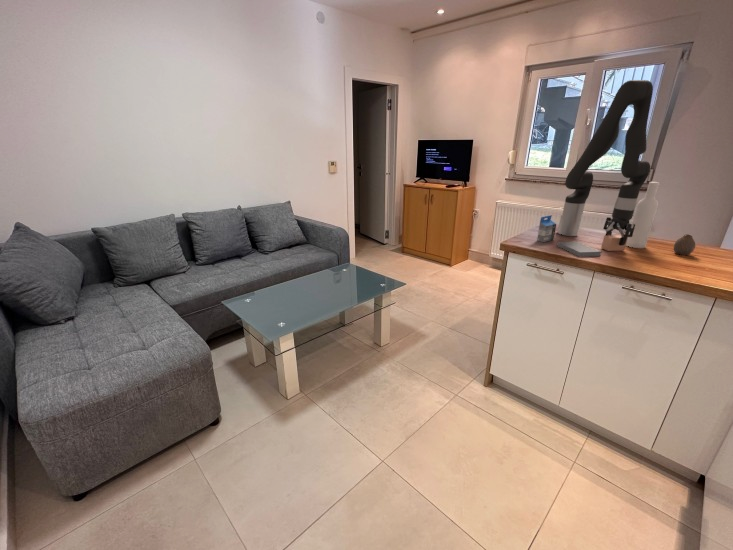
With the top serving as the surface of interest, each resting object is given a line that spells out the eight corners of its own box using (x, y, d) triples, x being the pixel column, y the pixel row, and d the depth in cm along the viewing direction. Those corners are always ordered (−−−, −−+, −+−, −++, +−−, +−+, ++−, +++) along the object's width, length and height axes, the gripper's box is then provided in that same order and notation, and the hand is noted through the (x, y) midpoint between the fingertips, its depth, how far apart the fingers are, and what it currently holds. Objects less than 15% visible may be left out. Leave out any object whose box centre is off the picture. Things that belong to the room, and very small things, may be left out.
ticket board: (556, 245, 162) (557, 241, 161) (576, 245, 163) (577, 241, 162) (578, 256, 147) (580, 252, 146) (600, 255, 148) (601, 251, 147)
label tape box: (543, 242, 168) (548, 218, 163) (536, 240, 171) (540, 216, 166) (553, 240, 172) (558, 216, 167) (546, 238, 175) (551, 215, 170)
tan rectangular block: (601, 247, 158) (604, 235, 156) (616, 247, 159) (620, 235, 156) (608, 250, 154) (611, 238, 152) (624, 250, 154) (628, 237, 152)
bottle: (623, 243, 166) (641, 180, 155) (642, 244, 163) (662, 181, 152) (626, 247, 159) (646, 182, 148) (647, 249, 156) (668, 183, 145)
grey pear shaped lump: (675, 255, 148) (682, 236, 145) (668, 250, 154) (675, 232, 151) (695, 257, 146) (702, 237, 142) (687, 252, 152) (694, 233, 148)
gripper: (604, 204, 155) (595, 238, 162) (629, 211, 142) (618, 247, 148) (619, 204, 156) (610, 237, 162) (645, 210, 143) (634, 246, 149)
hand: (614, 242), depth 155 cm, fingers open, 8 cm apart
